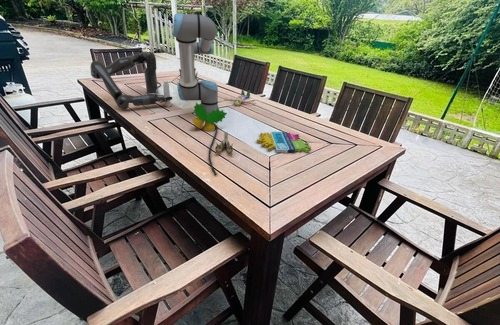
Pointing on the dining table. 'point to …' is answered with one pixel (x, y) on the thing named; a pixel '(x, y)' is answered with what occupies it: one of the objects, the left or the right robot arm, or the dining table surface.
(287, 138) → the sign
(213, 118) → the ornament
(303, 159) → the dining table surface
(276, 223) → the dining table surface
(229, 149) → the jawbone
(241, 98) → the toy
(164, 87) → the bottle
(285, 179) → the dining table surface
